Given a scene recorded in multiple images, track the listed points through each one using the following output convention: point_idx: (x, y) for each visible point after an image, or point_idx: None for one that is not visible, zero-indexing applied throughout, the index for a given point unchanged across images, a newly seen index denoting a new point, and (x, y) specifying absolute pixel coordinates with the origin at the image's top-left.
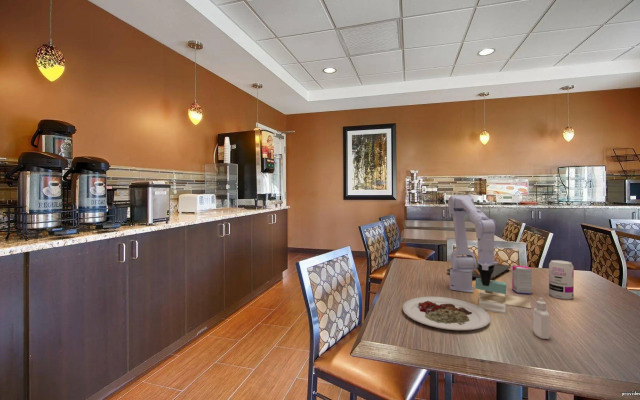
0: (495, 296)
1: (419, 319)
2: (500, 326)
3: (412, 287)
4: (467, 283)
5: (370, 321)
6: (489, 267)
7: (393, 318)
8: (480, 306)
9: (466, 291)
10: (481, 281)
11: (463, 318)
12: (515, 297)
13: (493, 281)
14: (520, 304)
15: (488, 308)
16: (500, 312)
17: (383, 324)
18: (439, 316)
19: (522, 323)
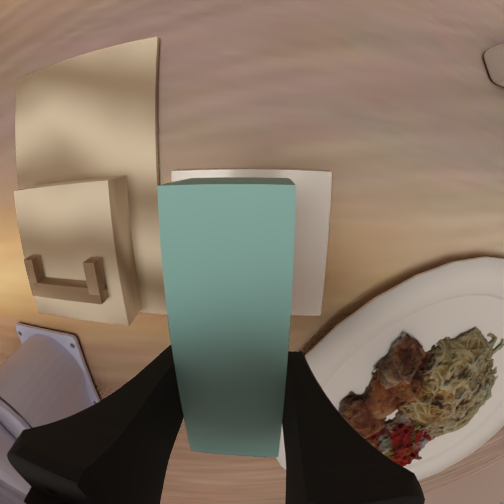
0: (118, 235)
1: (483, 430)
2: (495, 211)
3: (174, 488)
4: (53, 376)
5: (473, 473)
6: (116, 493)
7: (460, 462)
8: (295, 306)
9: (82, 358)
10: (280, 423)
11: (478, 349)
12: (29, 133)
13: (211, 333)
14: (122, 91)
15: (311, 265)
16: (328, 198)
17: (487, 456)
18: (471, 407)
19: (432, 102)
